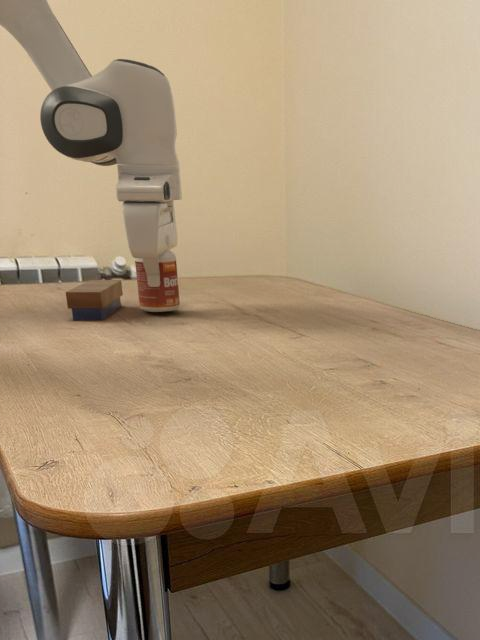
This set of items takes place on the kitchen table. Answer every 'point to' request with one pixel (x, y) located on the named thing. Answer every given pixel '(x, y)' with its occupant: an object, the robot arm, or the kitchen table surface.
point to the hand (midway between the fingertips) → (159, 282)
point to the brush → (94, 299)
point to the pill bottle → (167, 291)
